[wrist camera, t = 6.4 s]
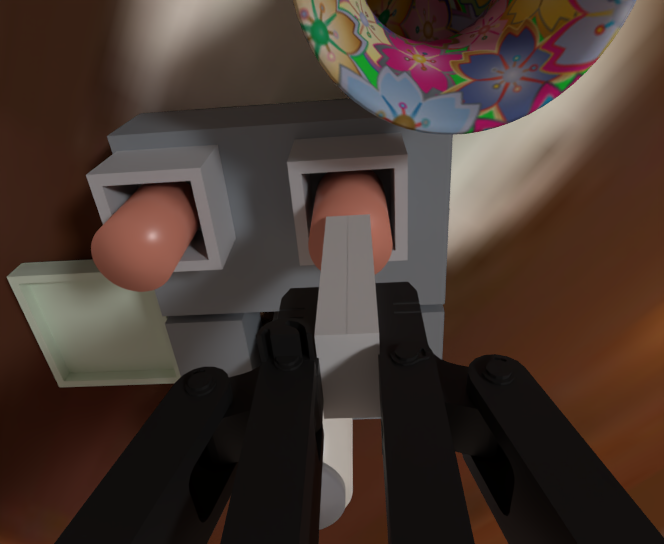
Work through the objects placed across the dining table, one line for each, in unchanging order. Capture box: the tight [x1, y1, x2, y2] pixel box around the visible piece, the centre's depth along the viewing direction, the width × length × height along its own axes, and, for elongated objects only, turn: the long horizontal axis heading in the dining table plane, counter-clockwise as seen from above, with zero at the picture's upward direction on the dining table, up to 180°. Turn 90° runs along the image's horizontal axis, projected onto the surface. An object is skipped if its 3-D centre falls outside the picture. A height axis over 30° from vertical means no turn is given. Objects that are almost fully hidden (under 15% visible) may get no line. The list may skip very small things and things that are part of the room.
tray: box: [7, 259, 181, 387], centre depth 32 cm, size 9×9×2 cm
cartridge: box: [272, 311, 353, 530], centre depth 27 cm, size 5×5×13 cm
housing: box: [86, 99, 453, 419], centre depth 27 cm, size 18×15×7 cm
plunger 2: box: [308, 170, 393, 275], centre depth 20 cm, size 3×3×4 cm
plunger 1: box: [91, 181, 201, 292], centre depth 20 cm, size 3×3×4 cm
